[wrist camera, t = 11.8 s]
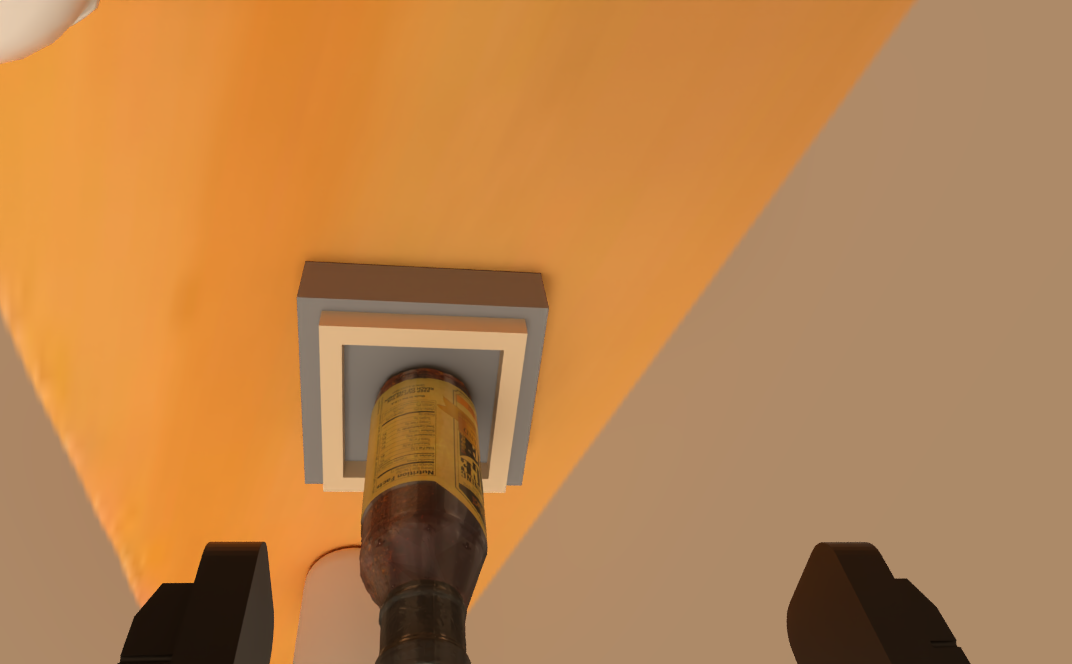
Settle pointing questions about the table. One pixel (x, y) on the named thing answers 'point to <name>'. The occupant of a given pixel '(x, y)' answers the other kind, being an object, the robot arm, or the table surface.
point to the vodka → (37, 24)
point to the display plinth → (416, 357)
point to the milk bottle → (337, 614)
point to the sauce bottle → (422, 517)
